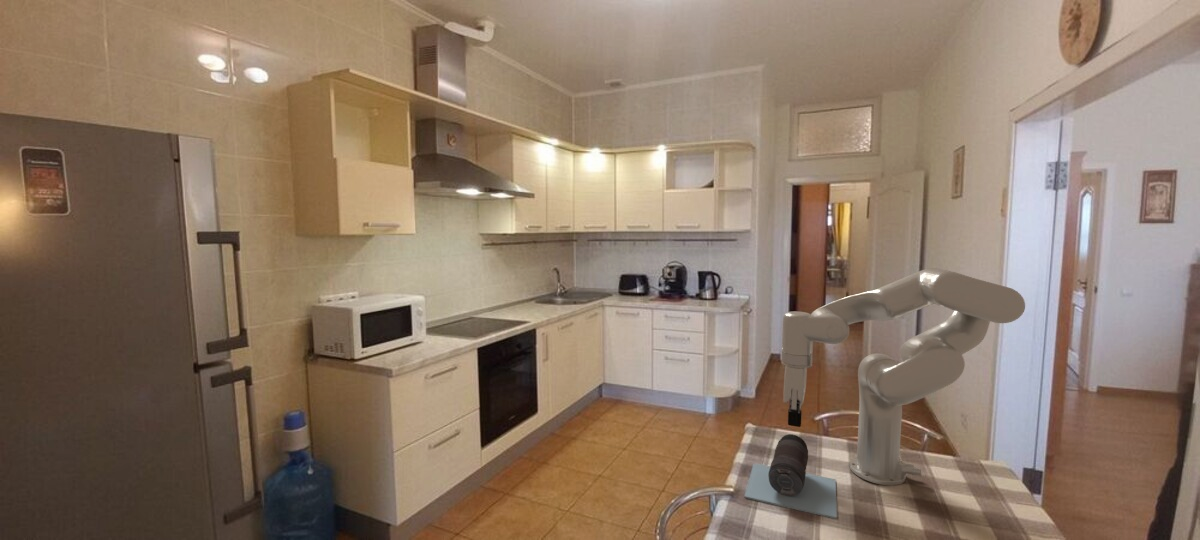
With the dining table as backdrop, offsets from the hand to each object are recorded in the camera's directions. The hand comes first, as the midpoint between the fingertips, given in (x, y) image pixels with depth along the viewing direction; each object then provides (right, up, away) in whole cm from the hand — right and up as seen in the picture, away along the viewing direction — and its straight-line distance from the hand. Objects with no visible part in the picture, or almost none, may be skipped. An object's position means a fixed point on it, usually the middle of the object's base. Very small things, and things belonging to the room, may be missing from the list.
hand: (794, 424), depth 126 cm
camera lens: (-1, -5, -2) cm, 5 cm away
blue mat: (-5, -13, -10) cm, 17 cm away
